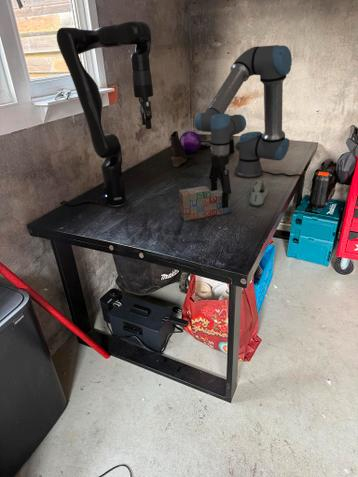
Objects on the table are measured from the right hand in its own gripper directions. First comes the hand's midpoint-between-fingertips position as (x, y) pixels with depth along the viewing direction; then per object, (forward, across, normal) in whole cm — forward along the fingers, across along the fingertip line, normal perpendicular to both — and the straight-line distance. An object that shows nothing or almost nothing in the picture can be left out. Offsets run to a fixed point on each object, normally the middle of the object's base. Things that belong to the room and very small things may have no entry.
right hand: (219, 201), depth 146 cm
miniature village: (+4, -93, +64) cm, 113 cm away
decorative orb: (+4, -97, +15) cm, 99 cm away
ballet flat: (+5, -8, +24) cm, 25 cm away
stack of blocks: (+5, 0, -7) cm, 8 cm away
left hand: (-33, -12, -27) cm, 44 cm away
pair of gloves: (+4, -115, +36) cm, 121 cm away
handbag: (+4, -82, +34) cm, 88 cm away
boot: (+5, -79, +2) cm, 79 cm away
